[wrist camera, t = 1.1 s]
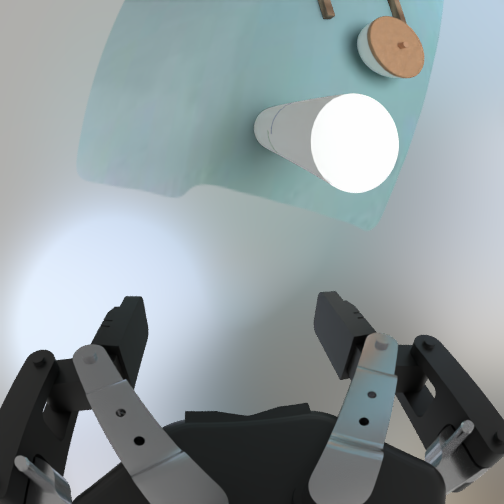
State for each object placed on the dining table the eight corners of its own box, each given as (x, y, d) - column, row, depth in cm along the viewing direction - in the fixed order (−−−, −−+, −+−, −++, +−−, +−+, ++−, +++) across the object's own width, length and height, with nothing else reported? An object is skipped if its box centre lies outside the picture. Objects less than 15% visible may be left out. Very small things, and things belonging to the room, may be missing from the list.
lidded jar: (405, 56, 34) (439, 51, 25) (381, 92, 37) (415, 91, 29) (364, 16, 30) (393, 2, 22) (335, 51, 33) (364, 39, 25)
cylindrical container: (303, 112, 38) (406, 113, 16) (294, 154, 41) (385, 201, 19) (258, 102, 36) (321, 79, 14) (250, 146, 39) (300, 182, 17)
